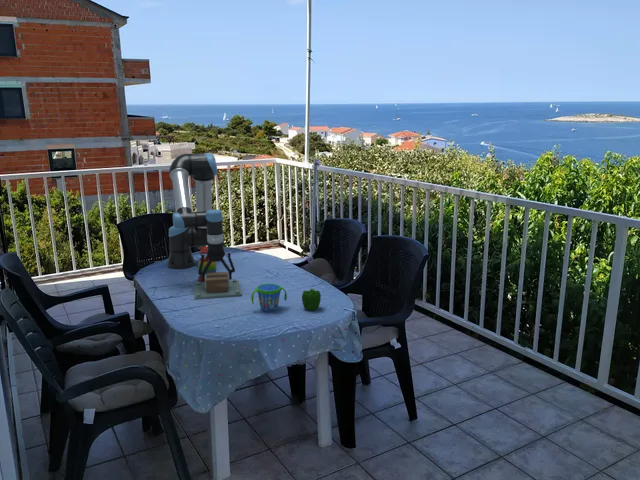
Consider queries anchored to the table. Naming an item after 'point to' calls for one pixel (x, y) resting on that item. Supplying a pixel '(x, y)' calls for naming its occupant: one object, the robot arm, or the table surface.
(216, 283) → the walnut brick
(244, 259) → the table surface
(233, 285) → the base plate
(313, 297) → the bell pepper
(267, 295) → the snack cup
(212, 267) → the stacking bear
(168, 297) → the table surface
